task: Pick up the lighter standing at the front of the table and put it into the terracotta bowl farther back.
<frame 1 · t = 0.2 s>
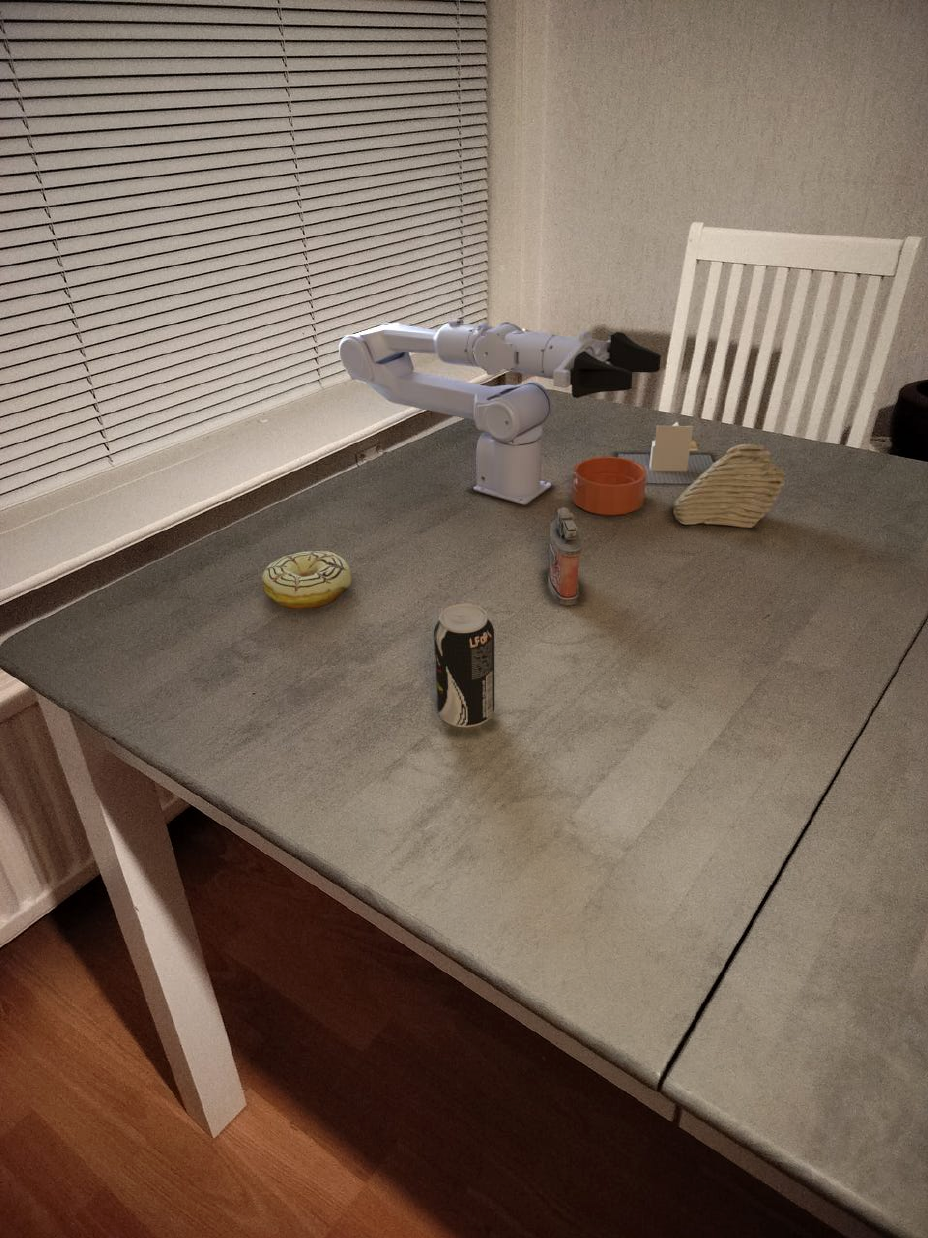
hand: (645, 371, 105), 22 cm above the table, tool horizontal, fingers open, 7 cm apart
architectural model: (667, 469, 132), on the table
lighter: (562, 588, 103), on the table
beverage can: (466, 715, 84), on the table
bowl: (607, 501, 123), on the table
decorated donut: (309, 592, 104), on the table
fossil tooth: (724, 520, 117), on the table
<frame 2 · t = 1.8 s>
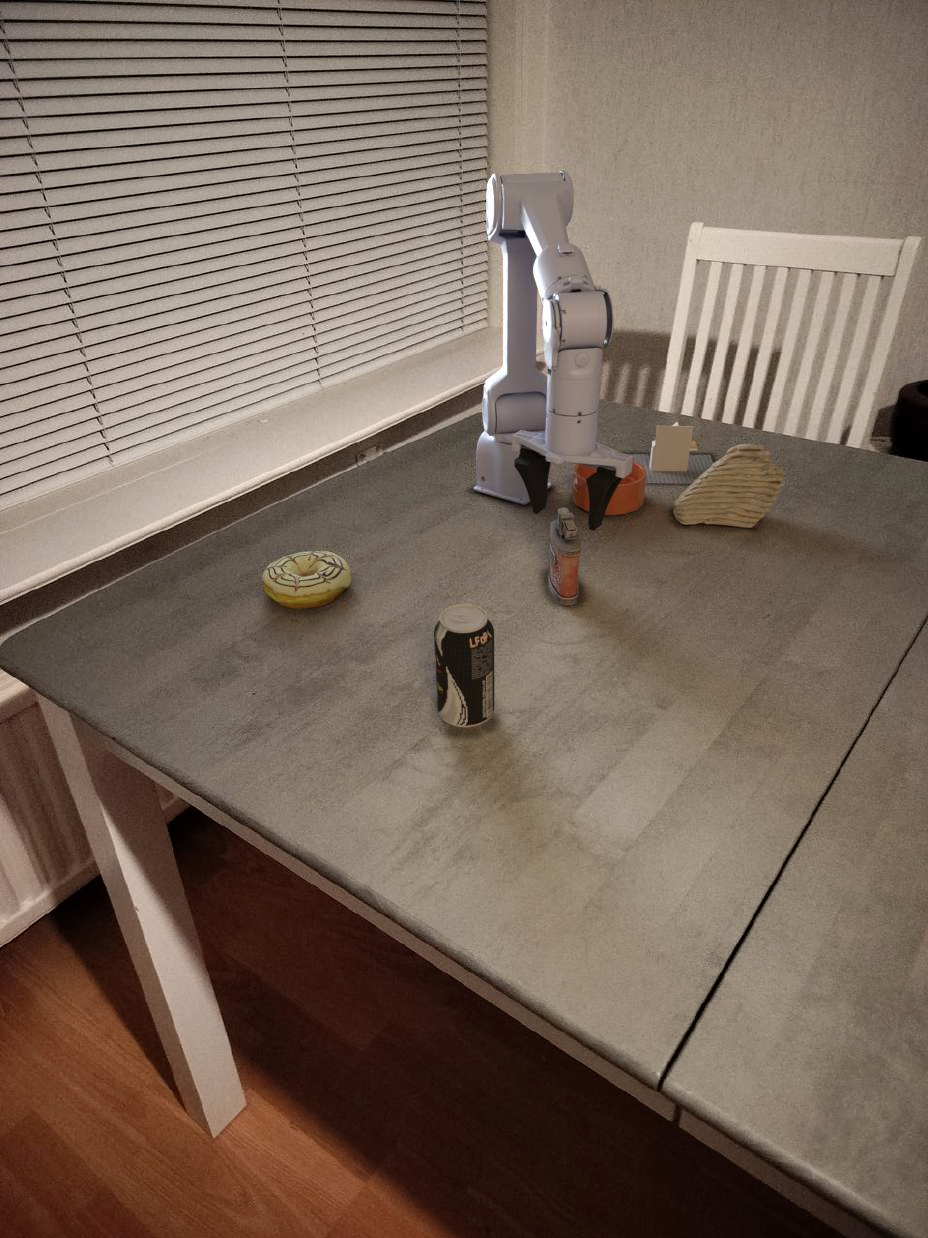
hand: (566, 518, 98), 10 cm above the table, tool pointing down, fingers open, 7 cm apart
nothing on the table moved.
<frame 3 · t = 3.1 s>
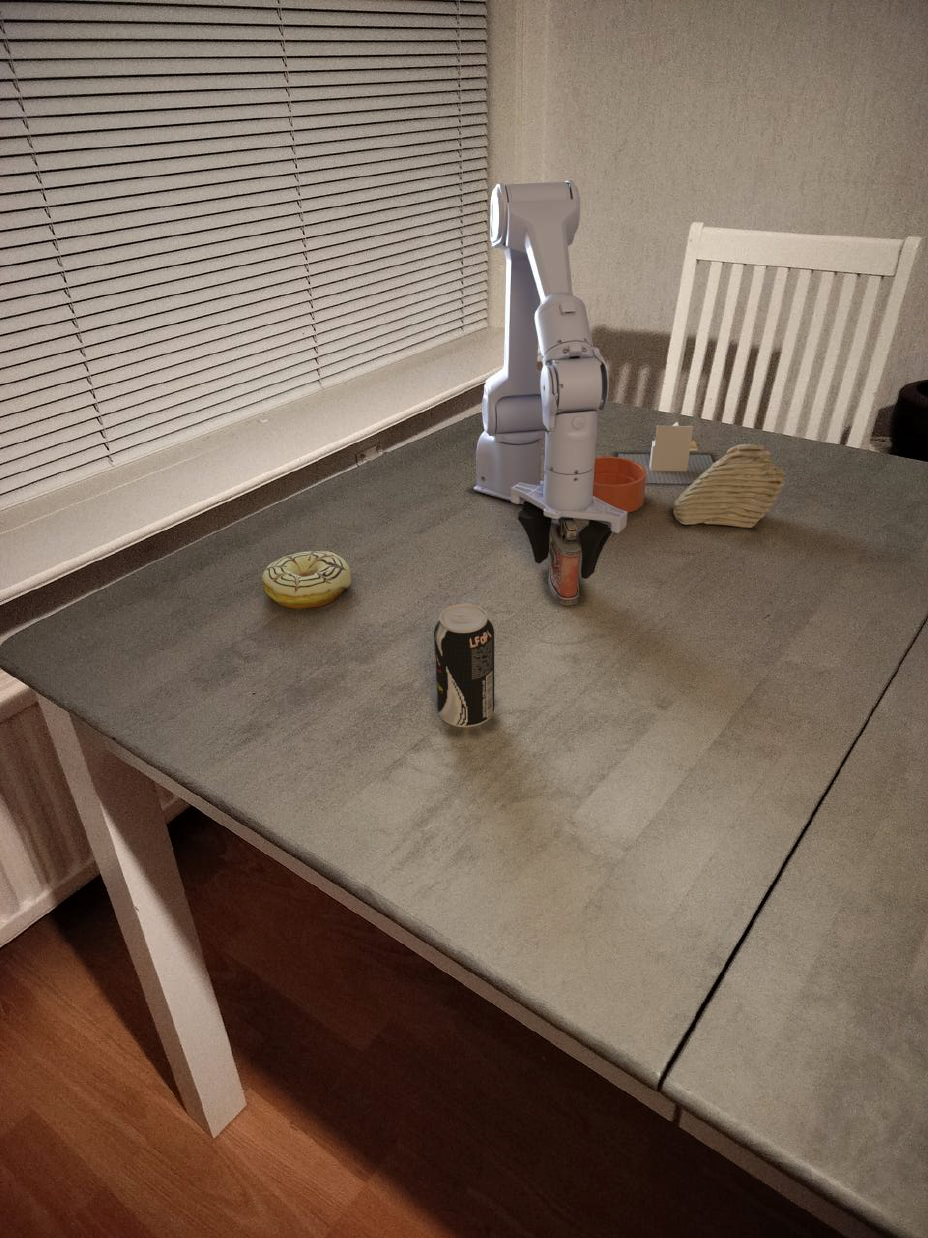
hand: (564, 567, 102), 3 cm above the table, tool pointing down, fingers closed on lighter, 6 cm apart
lighter: (563, 588, 103), on the table, touching gripper
everything else where it was.
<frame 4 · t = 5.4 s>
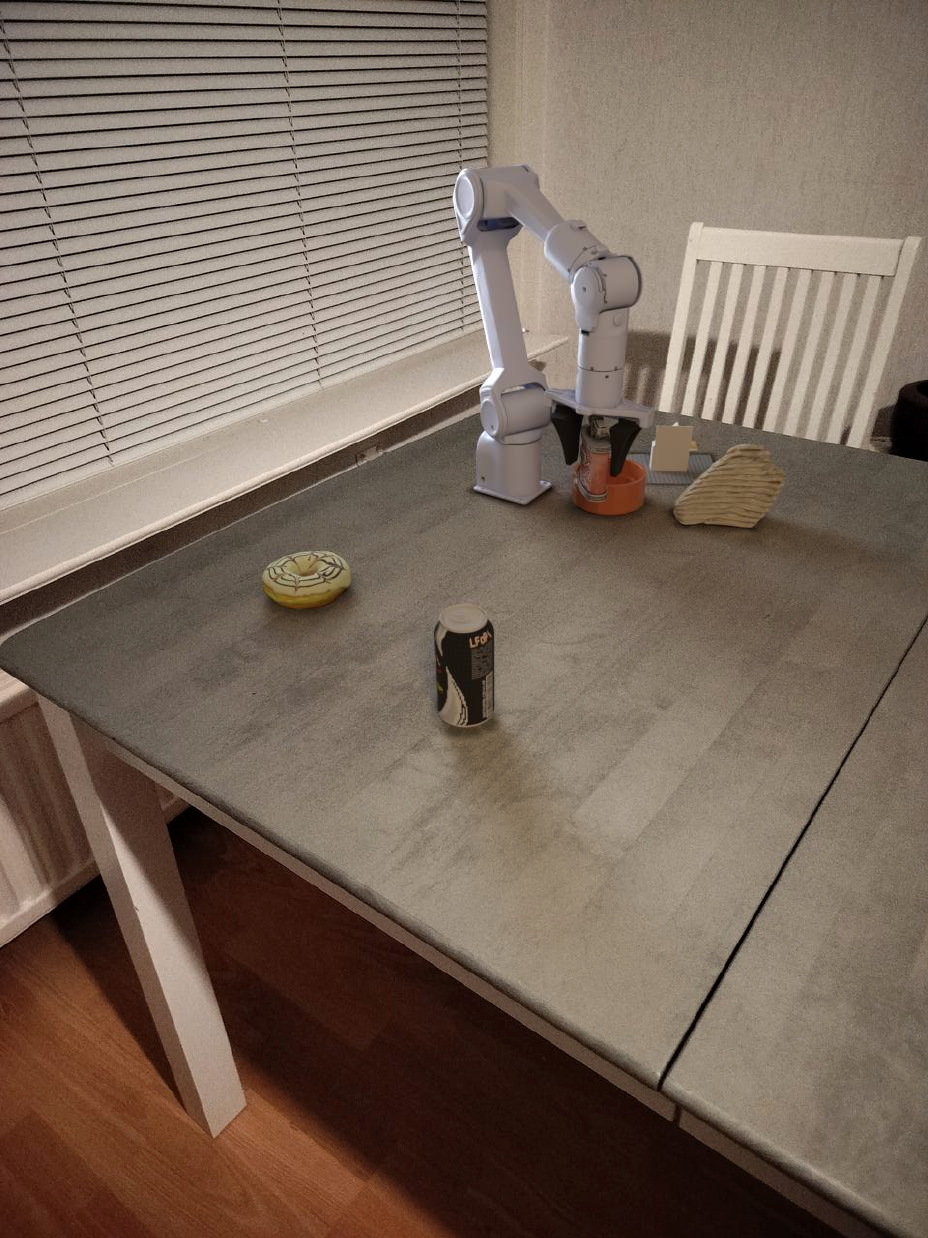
hand: (593, 468, 108), 10 cm above the table, tool pointing down, fingers closed on lighter, 6 cm apart
lighter: (591, 489, 110), point 7 cm above the table, touching gripper
everything else where it was.
when the fingers open (5 cm above the table, at t = 8.0 s): lighter stays where it is, resting on bowl.
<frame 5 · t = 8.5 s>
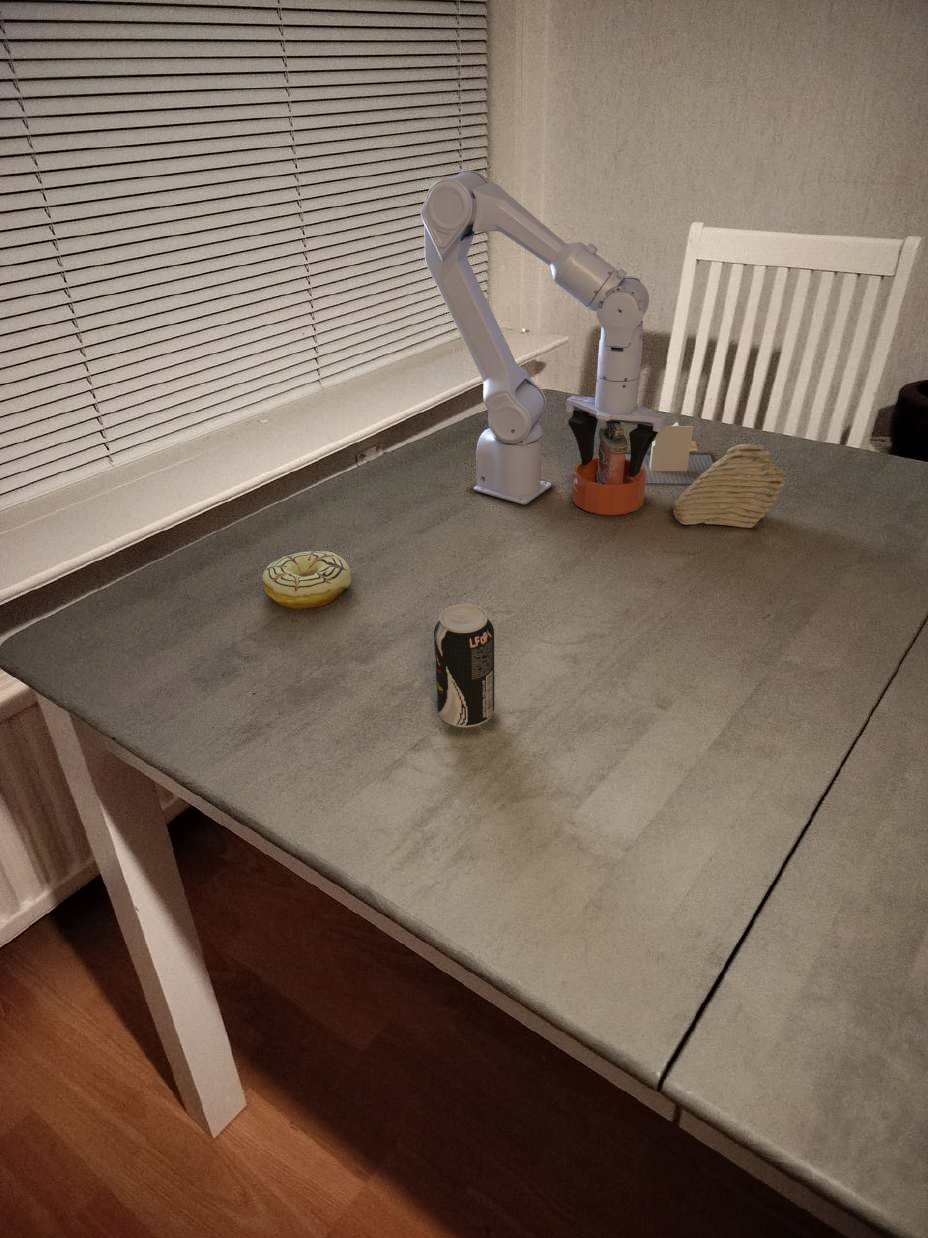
hand: (610, 468, 120), 5 cm above the table, tool pointing down, fingers open, 7 cm apart
lighter: (609, 486, 121), point 3 cm above the table, touching bowl
everything else where it was.
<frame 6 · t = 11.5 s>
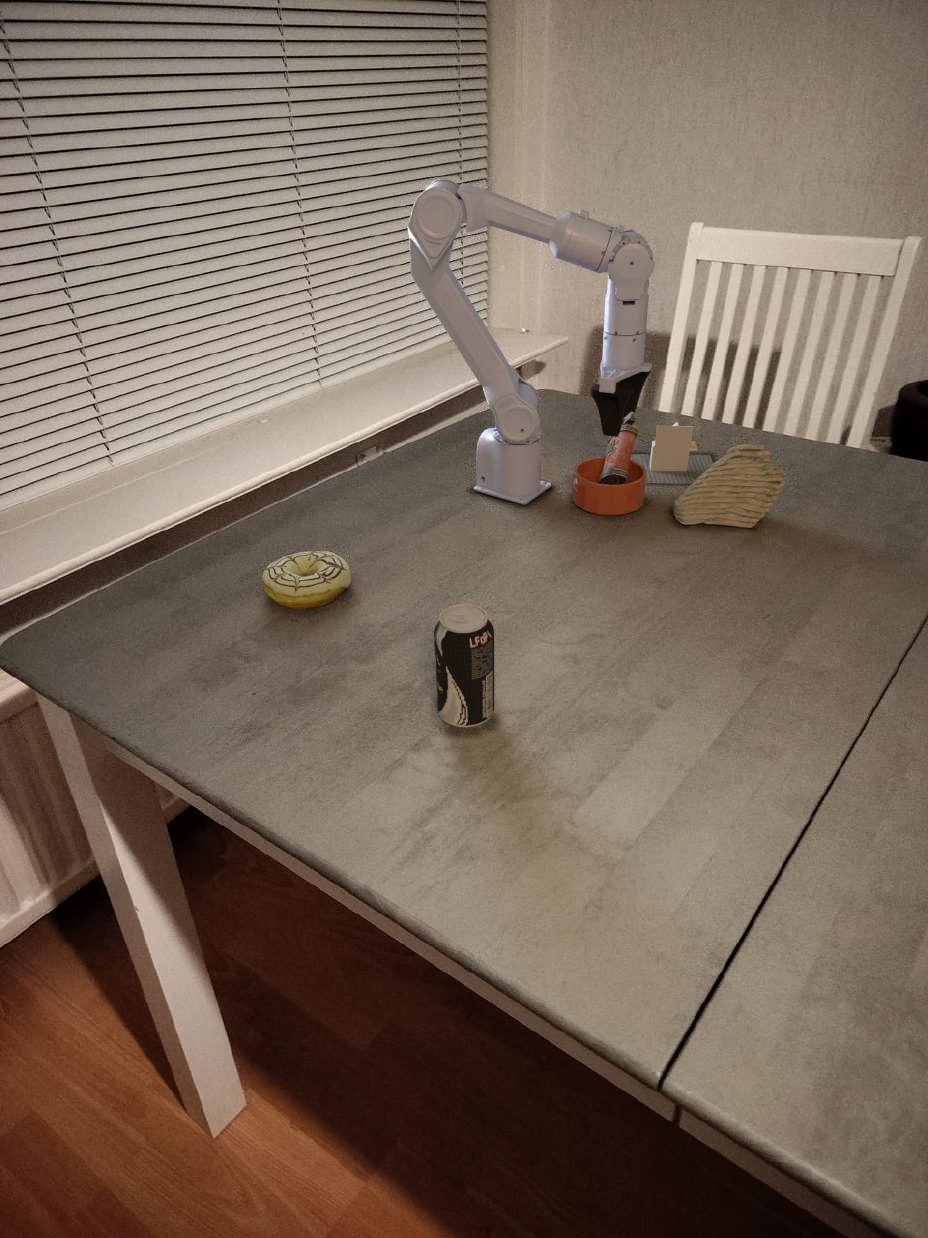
hand: (618, 425, 120), 10 cm above the table, tool pointing down, fingers open, 7 cm apart
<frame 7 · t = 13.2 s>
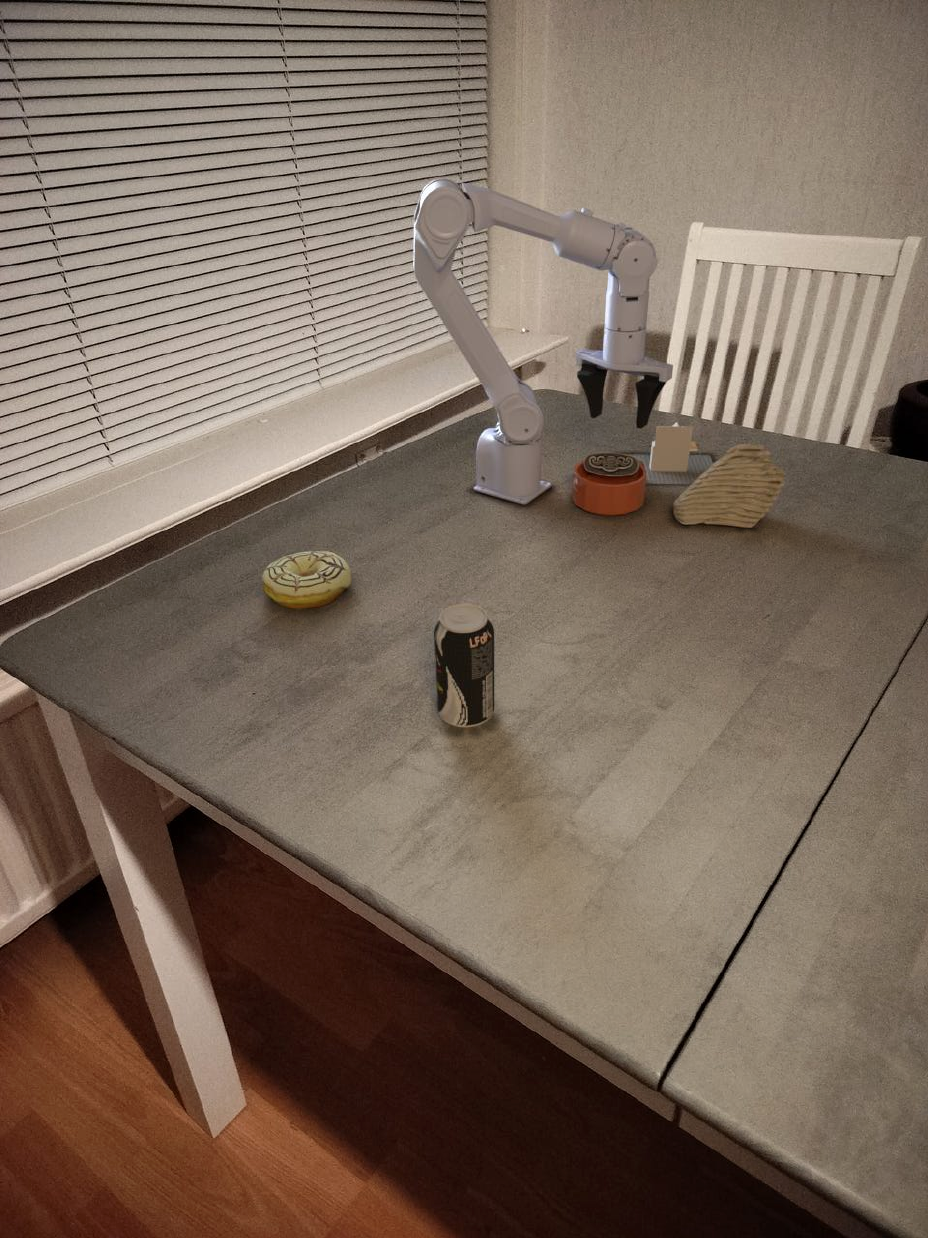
hand: (618, 420, 121), 10 cm above the table, tool pointing down, fingers open, 7 cm apart
architectural model: (667, 469, 132), on the table, touching lighter
lighter: (610, 463, 120), point 6 cm above the table, touching bowl, architectural model
everything else where it was.
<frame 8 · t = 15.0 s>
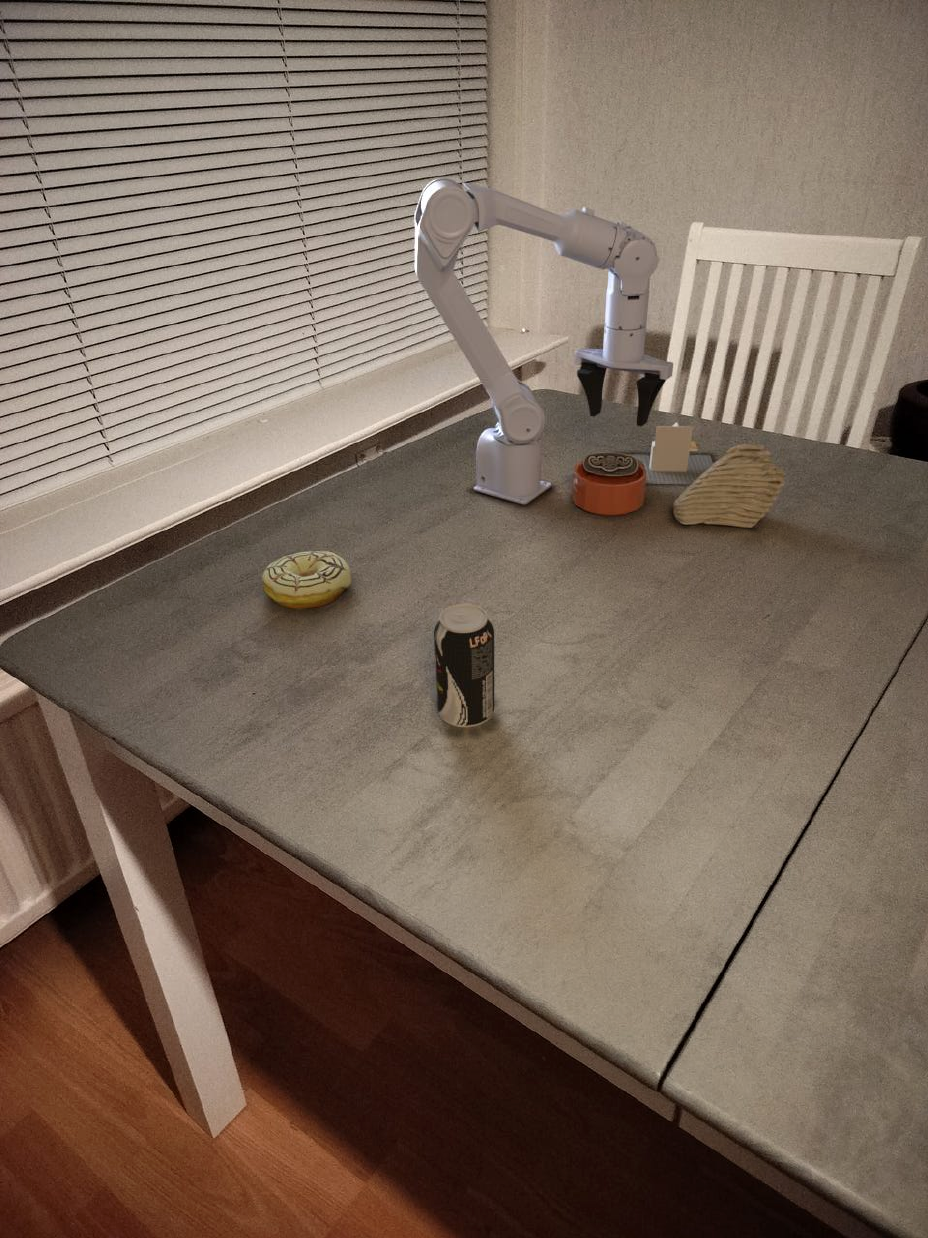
hand: (618, 418, 122), 10 cm above the table, tool pointing down, fingers open, 7 cm apart
lighter: (610, 463, 120), point 6 cm above the table, touching architectural model
everything else where it was.
at the end: lighter inside the target area in the bowl (0.7 cm from its centre), point 5.8 cm above the bowl's base; the gripper is holding nothing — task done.
